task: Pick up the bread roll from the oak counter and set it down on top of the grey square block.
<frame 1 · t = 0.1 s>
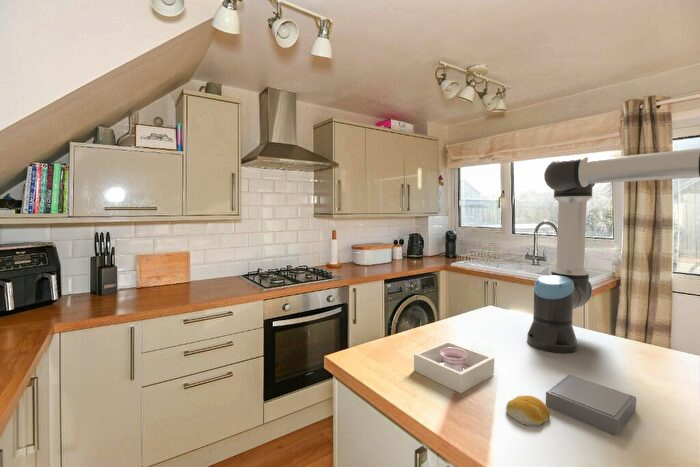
grey square block: (589, 408, 81), on the table
teacup: (452, 373, 99), resting in white open box
white open box: (453, 372, 99), on the table
bread roll: (527, 416, 79), on the table
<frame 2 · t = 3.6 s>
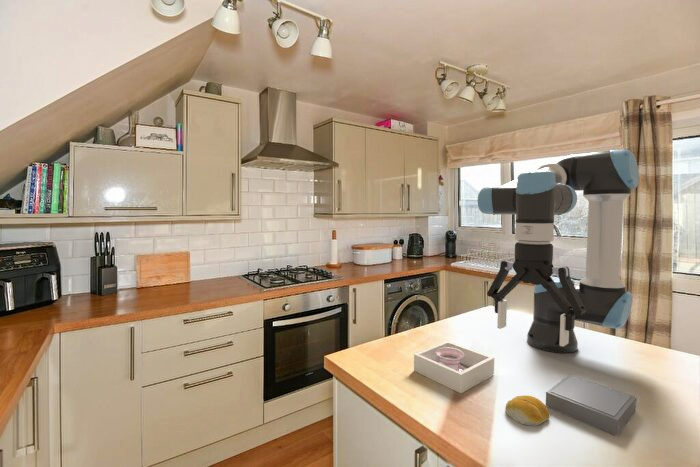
hand: (530, 335, 77), 19 cm above the table, fingers open, 13 cm apart
teacup: (448, 373, 99), resting in white open box
everything else where it was.
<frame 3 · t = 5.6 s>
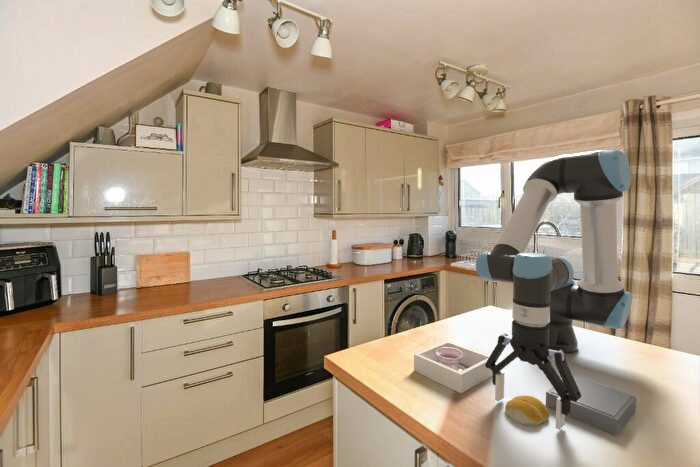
hand: (527, 411, 79), 1 cm above the table, fingers open, 13 cm apart
nothing on the table moved.
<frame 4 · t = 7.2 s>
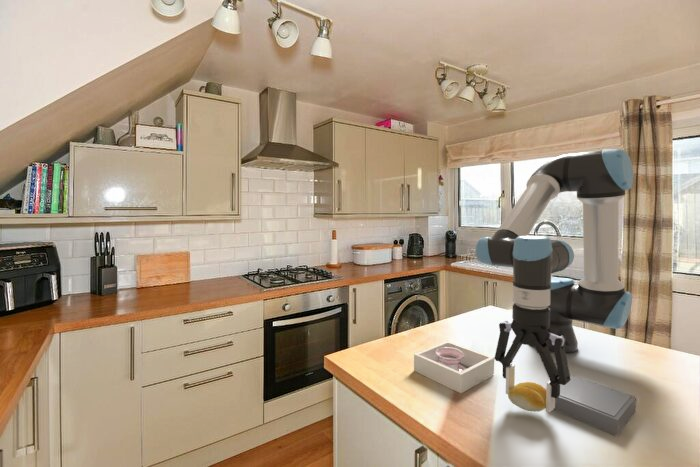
hand: (529, 400, 79), 3 cm above the table, fingers closed on bread roll, 8 cm apart
bread roll: (529, 403, 79), point 3 cm above the table, touching gripper
everything else where it was.
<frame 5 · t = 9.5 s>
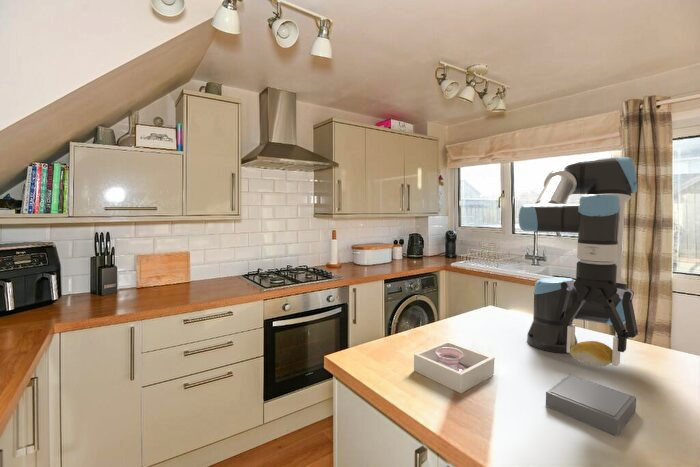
hand: (592, 357, 80), 13 cm above the table, fingers closed on bread roll, 8 cm apart
bread roll: (592, 360, 80), point 12 cm above the table, touching gripper
everything else where it was.
when the fingers open (5 cm above the table, at t = 11.6 s): bread roll stays where it is, resting on grey square block.
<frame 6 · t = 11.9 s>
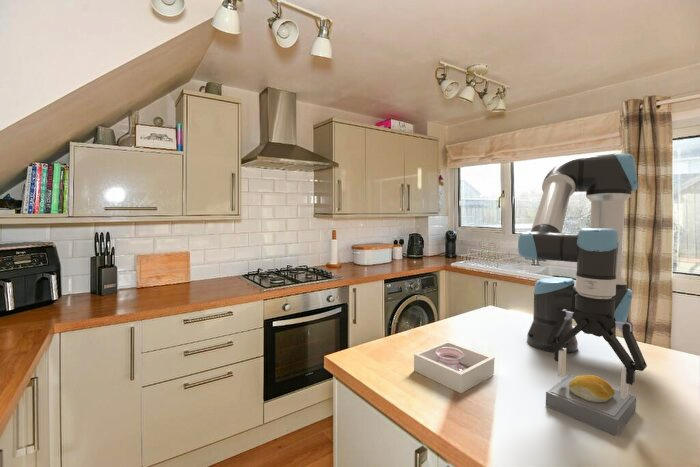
hand: (590, 385, 81), 6 cm above the table, fingers open, 12 cm apart
bread roll: (590, 394, 81), point 3 cm above the table, touching grey square block
everything else where it was.
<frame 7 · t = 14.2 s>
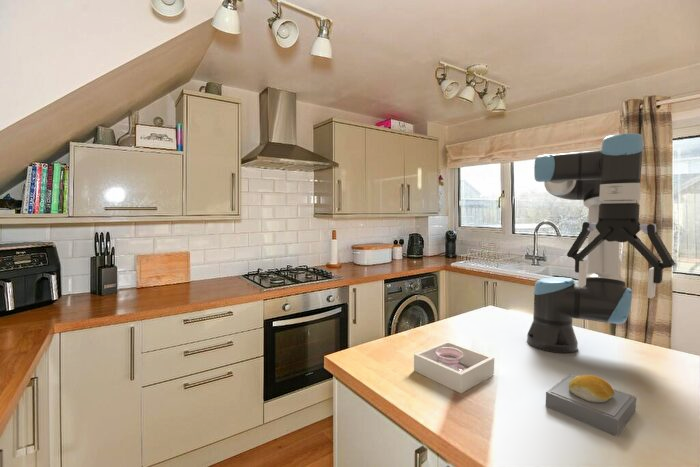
hand: (614, 291, 82), 28 cm above the table, fingers open, 13 cm apart
nothing on the table moved.
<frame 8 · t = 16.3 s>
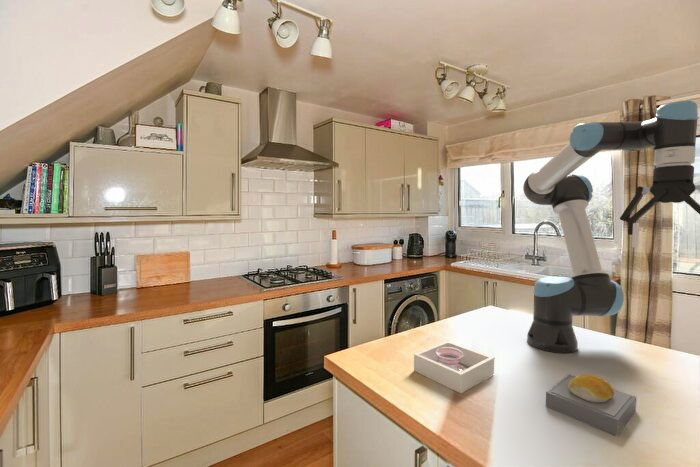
hand: (668, 249, 88), 37 cm above the table, fingers open, 13 cm apart
nothing on the table moved.
at the end: bread roll 0.2 cm from the grey square block (horizontally); bread roll inside the target area on the grey square block (0.2 cm from its centre), point 3.4 cm above the grey square block's base; the gripper is holding nothing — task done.
